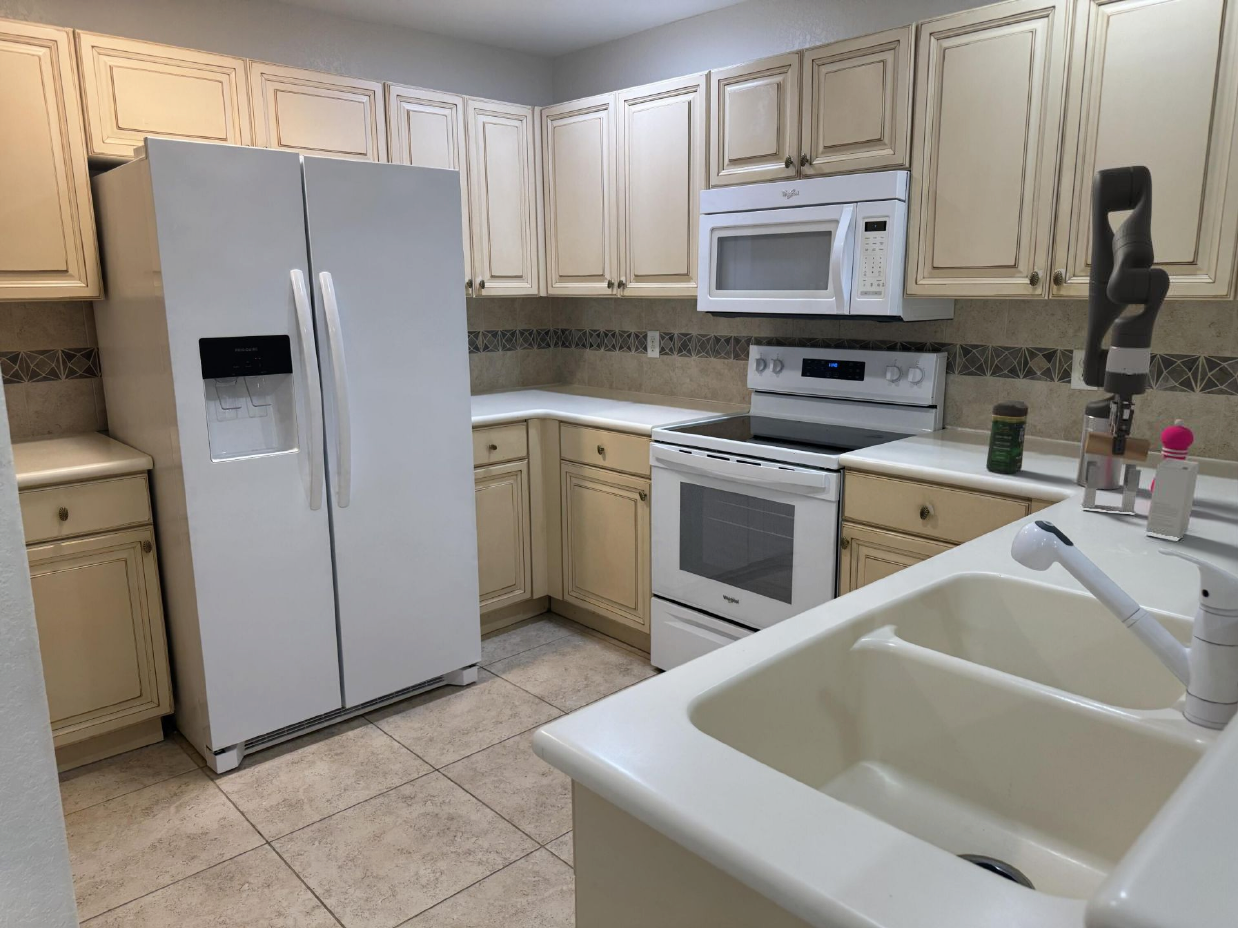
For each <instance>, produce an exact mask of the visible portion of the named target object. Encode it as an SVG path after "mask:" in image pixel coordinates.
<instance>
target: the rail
mask: <svg viewBox="0 0 1238 928" xmlns="http://www.w3.org/2000/svg"><path fill="white" fill-rule="evenodd" d="M1113 438H1114V435H1111V434H1103V433H1096V432H1089V431H1088V433H1087V438H1086V442H1085V447H1084V451H1085V453H1089V454H1096V455H1102V456H1109V457H1116V458H1123V460H1128V461H1129V460H1130V461H1131V460H1132V461H1138V462H1143V463H1146V462H1147V459H1148V454H1149V450H1150V447H1151V442H1150V440H1148V439H1146V438H1145V439H1144V438H1139V437H1131V436H1128V437H1126V445H1125V453H1124V455H1122V456H1121V455H1113V454H1112V446H1113Z"/></svg>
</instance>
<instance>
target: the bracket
mask: <svg viewBox="0 0 1238 928" xmlns="http://www.w3.org/2000/svg"><path fill="white" fill-rule="evenodd" d="M1097 463H1098V461H1089V460H1087V465H1086V474H1085V486H1084V489H1083V490H1084V492H1083V499H1082V503H1081V504H1080V506H1081V505H1082V507H1083V508H1089V509H1101V510H1106V511H1119V512H1132V513H1135V514H1136V511H1135V504H1136V499H1137V498H1136V497H1137V493H1139V488H1140V487H1139V486H1140V482H1141V481H1140V479H1141V475H1142V474H1141V472H1142V470H1141V469H1138V468H1137V466H1138V465H1137V463H1128V462H1127V463H1125V467H1124V473H1123V482H1122V486H1123V493H1122V499H1121V506H1114V505H1113V506H1112V505H1102V504H1096V496H1097V490H1099V489H1098V484H1099V476H1100V468H1101V467H1100V466H1097Z"/></svg>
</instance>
